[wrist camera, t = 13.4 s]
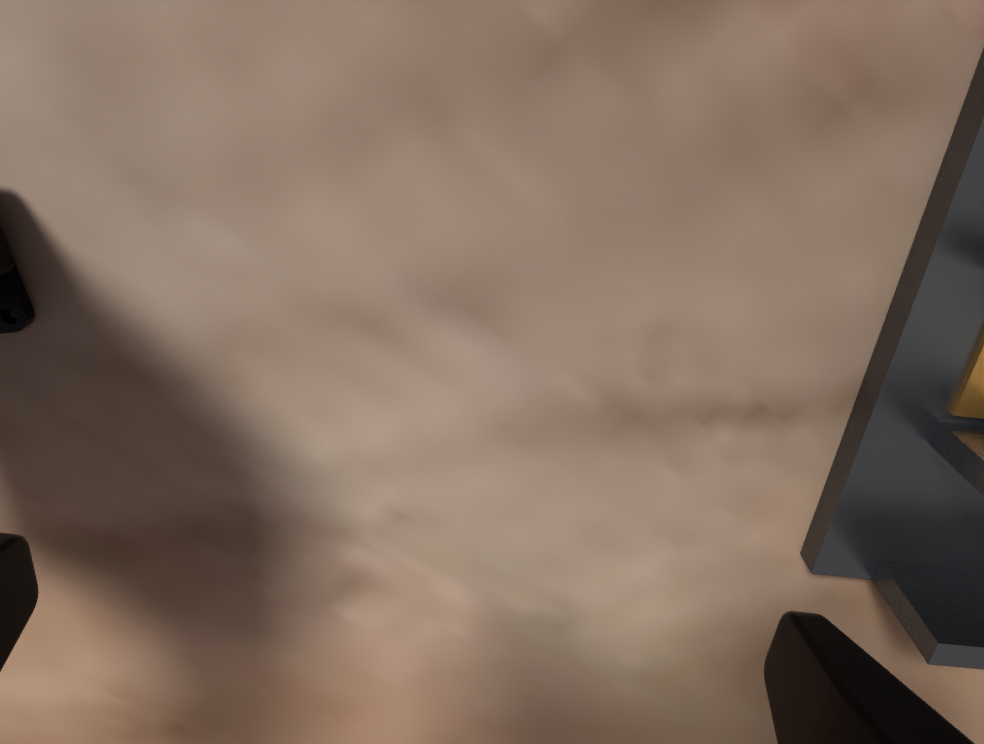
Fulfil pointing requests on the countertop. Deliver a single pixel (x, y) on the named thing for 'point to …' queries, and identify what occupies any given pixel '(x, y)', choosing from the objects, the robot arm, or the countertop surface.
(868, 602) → the countertop surface
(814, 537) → the panel rack
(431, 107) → the countertop surface
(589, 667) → the countertop surface
